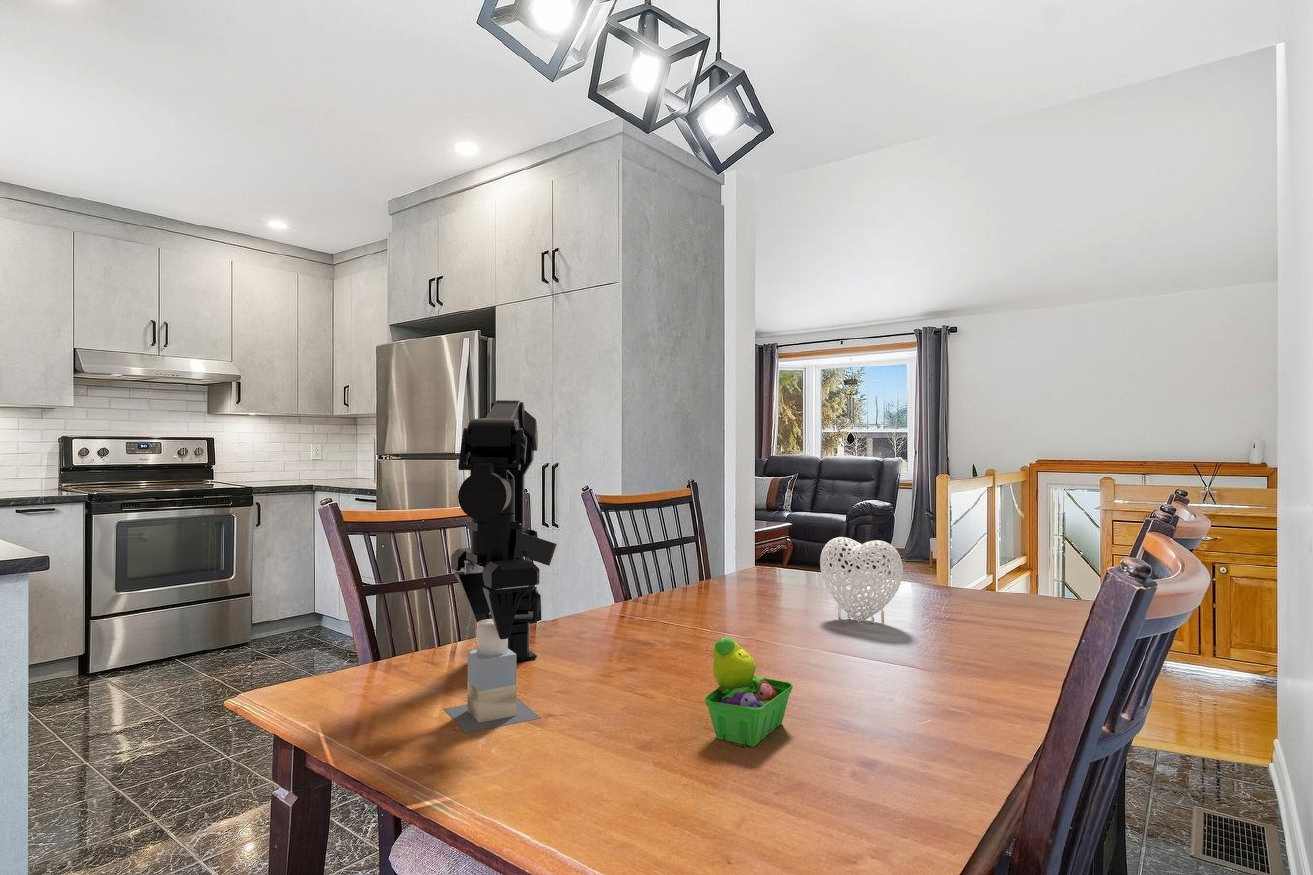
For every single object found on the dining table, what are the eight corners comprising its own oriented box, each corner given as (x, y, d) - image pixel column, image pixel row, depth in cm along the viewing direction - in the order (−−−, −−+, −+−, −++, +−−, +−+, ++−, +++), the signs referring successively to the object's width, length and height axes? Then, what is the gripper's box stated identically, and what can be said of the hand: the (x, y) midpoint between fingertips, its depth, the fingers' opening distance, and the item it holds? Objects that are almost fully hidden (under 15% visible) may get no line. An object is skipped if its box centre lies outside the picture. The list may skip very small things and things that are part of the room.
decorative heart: (913, 624, 147) (913, 540, 148) (887, 633, 140) (887, 545, 140) (836, 610, 160) (836, 533, 161) (808, 618, 153) (808, 537, 153)
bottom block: (467, 710, 97) (467, 680, 97) (503, 704, 99) (503, 674, 99) (478, 722, 93) (479, 691, 93) (516, 715, 95) (516, 684, 95)
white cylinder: (472, 651, 97) (473, 620, 97) (501, 646, 99) (502, 617, 99) (482, 658, 93) (482, 627, 94) (512, 653, 96) (512, 623, 96)
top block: (467, 680, 97) (467, 650, 97) (503, 674, 99) (503, 645, 100) (479, 691, 93) (479, 659, 93) (516, 684, 95) (516, 654, 95)
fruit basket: (759, 753, 84) (759, 656, 85) (692, 737, 89) (692, 645, 89) (795, 722, 94) (795, 635, 94) (733, 710, 99) (733, 626, 99)
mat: (443, 711, 98) (443, 708, 98) (514, 698, 103) (514, 695, 103) (465, 736, 89) (465, 733, 89) (541, 721, 94) (541, 718, 94)
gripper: (577, 516, 93) (577, 638, 92) (524, 506, 109) (524, 611, 108) (493, 520, 87) (492, 651, 87) (450, 509, 103) (449, 620, 102)
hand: (492, 631), depth 96 cm, fingers open, 9 cm apart
